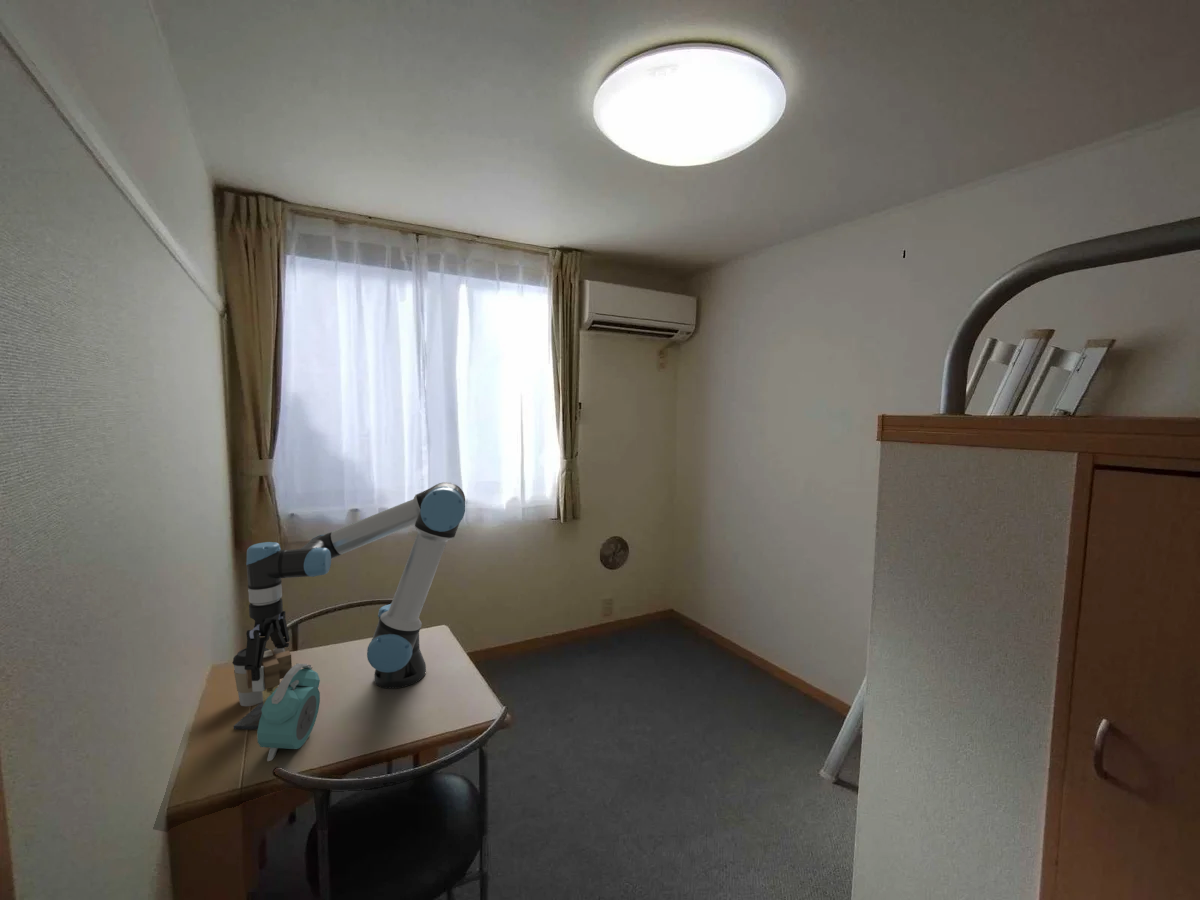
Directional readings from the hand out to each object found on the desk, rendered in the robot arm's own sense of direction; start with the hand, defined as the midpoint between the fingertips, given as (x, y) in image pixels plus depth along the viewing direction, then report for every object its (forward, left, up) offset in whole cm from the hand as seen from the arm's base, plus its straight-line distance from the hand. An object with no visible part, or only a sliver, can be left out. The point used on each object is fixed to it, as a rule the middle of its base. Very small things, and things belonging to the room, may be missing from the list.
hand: (269, 680), depth 135 cm
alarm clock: (-13, +12, -10) cm, 20 cm away
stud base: (0, 0, -10) cm, 10 cm away
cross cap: (0, 0, -1) cm, 1 cm away
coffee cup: (+10, -8, -10) cm, 16 cm away
